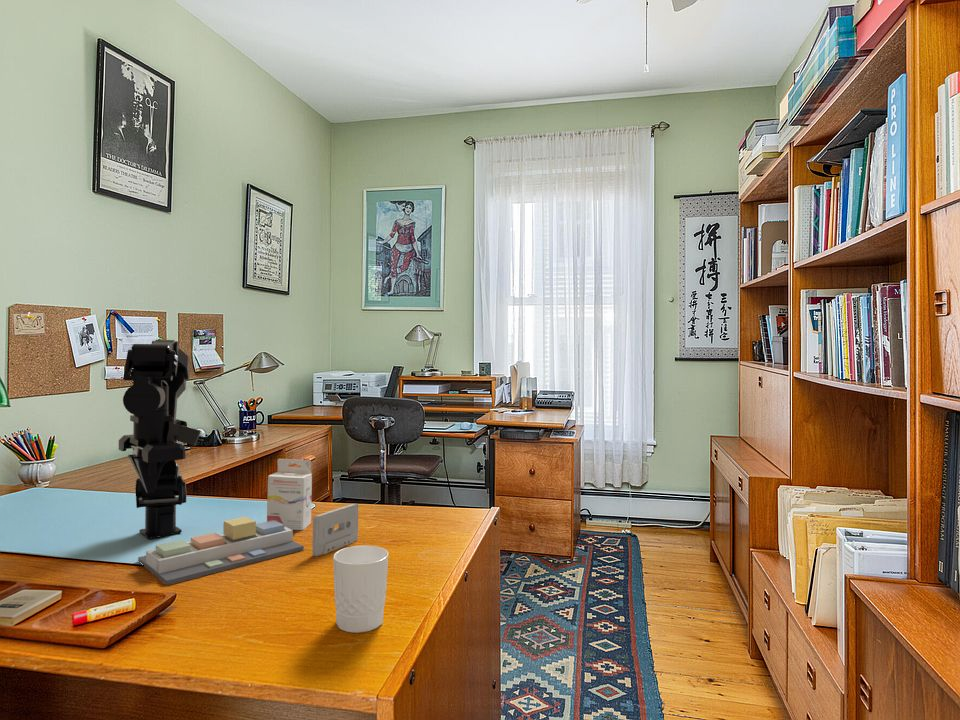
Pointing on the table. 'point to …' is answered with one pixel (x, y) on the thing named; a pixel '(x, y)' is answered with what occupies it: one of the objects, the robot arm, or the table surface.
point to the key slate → (269, 527)
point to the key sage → (172, 548)
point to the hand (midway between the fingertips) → (150, 492)
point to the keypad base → (220, 556)
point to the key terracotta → (207, 541)
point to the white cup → (360, 587)
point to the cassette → (334, 539)
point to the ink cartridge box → (290, 494)
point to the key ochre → (239, 528)
